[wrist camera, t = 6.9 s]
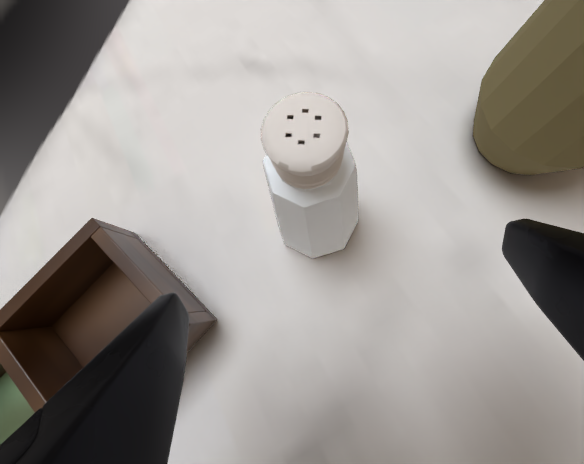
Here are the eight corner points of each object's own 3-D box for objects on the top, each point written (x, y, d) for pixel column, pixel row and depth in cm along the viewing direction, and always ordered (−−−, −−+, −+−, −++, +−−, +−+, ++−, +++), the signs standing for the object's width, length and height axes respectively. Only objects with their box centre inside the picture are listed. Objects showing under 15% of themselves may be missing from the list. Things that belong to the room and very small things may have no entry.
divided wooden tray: (217, 319, 20) (190, 324, 16) (24, 531, 18) (-58, 593, 14) (134, 232, 22) (91, 217, 18) (-46, 417, 20) (-136, 444, 16)
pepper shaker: (280, 177, 21) (231, 52, 10) (360, 181, 20) (396, 51, 10) (271, 255, 20) (206, 204, 9) (355, 262, 19) (390, 216, 9)
